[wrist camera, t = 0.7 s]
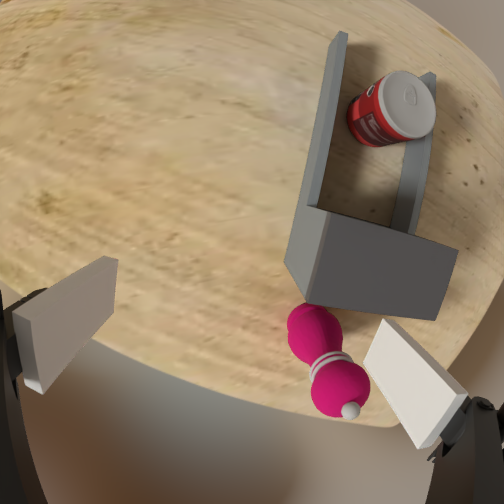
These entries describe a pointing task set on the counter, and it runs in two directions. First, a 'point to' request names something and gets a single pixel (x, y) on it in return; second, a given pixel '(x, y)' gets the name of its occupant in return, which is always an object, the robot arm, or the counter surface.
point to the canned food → (392, 111)
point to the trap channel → (366, 229)
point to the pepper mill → (327, 362)
